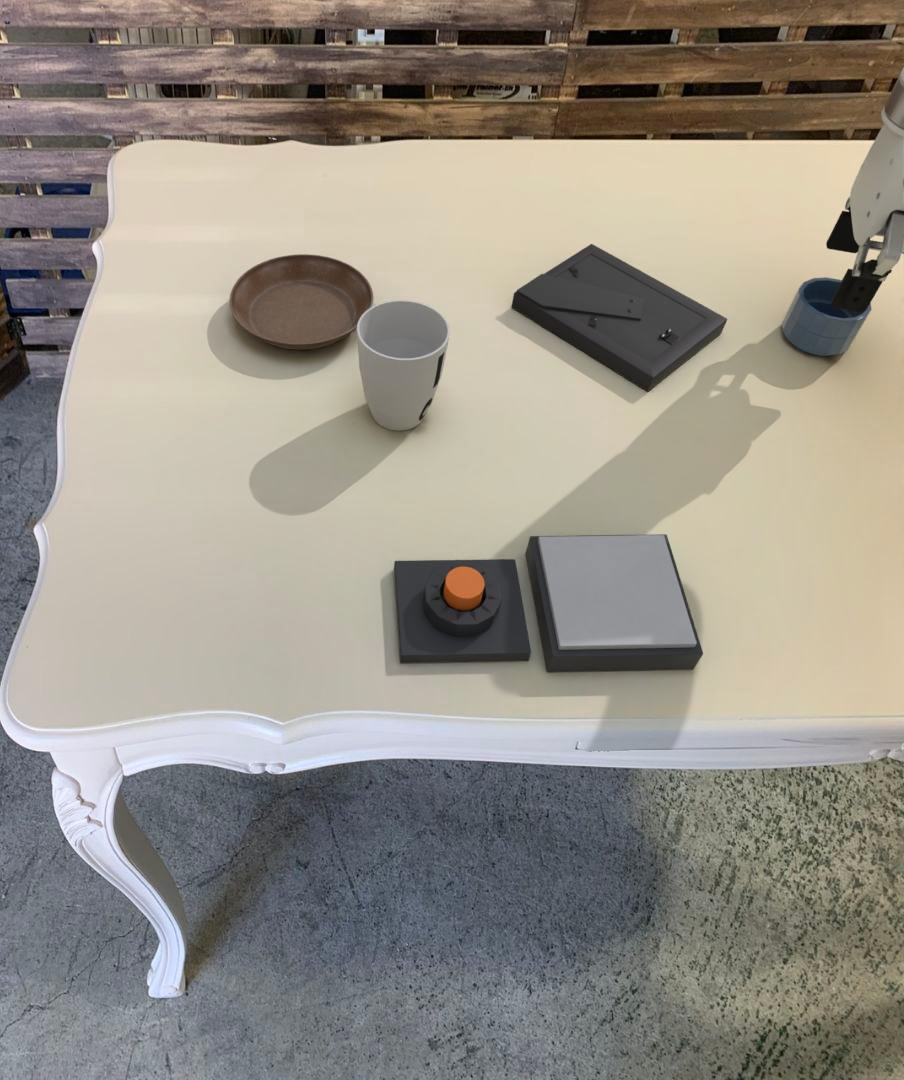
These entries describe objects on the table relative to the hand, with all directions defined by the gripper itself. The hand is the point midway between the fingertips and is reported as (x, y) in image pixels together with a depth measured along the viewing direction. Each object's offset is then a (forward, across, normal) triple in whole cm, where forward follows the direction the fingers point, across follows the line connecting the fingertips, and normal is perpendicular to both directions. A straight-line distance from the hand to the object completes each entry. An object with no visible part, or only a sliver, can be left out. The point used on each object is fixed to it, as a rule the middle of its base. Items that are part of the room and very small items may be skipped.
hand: (843, 278), depth 89 cm
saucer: (+8, -12, +52) cm, 54 cm away
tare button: (+4, -44, +29) cm, 53 cm away
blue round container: (+7, 0, 0) cm, 7 cm away
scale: (+7, -41, +18) cm, 45 cm away
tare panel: (+7, -44, +29) cm, 54 cm away
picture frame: (+7, -4, +20) cm, 22 cm away
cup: (+7, -24, +39) cm, 46 cm away
